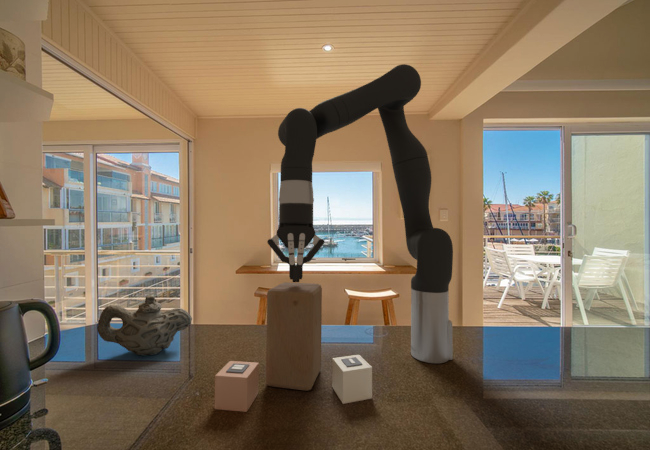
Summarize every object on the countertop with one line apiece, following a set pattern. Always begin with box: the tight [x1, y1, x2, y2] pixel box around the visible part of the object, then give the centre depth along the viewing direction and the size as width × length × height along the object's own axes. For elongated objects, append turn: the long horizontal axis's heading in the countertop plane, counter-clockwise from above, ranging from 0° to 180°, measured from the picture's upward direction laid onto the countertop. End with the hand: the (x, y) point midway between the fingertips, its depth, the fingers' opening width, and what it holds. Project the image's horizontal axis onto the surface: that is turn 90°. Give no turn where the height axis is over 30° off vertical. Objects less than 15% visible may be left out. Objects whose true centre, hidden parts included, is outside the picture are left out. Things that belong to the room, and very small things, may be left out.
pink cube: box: [214, 360, 260, 413], centre depth 54 cm, size 6×6×6 cm
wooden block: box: [265, 281, 323, 392], centre depth 63 cm, size 10×10×20 cm
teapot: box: [96, 295, 193, 356], centre depth 75 cm, size 21×12×15 cm, turn 115°
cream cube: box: [331, 354, 373, 405], centre depth 57 cm, size 6×6×6 cm
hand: (295, 281), depth 63 cm, fingers closed
